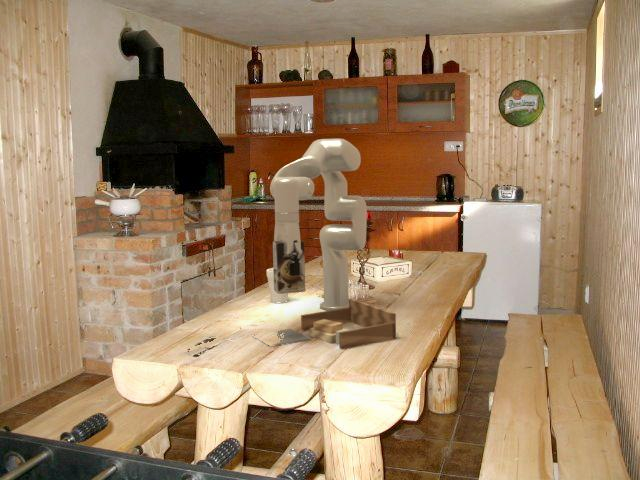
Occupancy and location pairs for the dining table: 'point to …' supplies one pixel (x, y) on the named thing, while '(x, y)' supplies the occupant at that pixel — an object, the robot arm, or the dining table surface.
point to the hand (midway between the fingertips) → (289, 273)
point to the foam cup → (274, 296)
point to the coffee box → (287, 271)
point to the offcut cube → (338, 335)
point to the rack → (370, 317)
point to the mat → (291, 336)
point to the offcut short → (327, 326)
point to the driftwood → (205, 342)
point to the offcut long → (323, 336)
